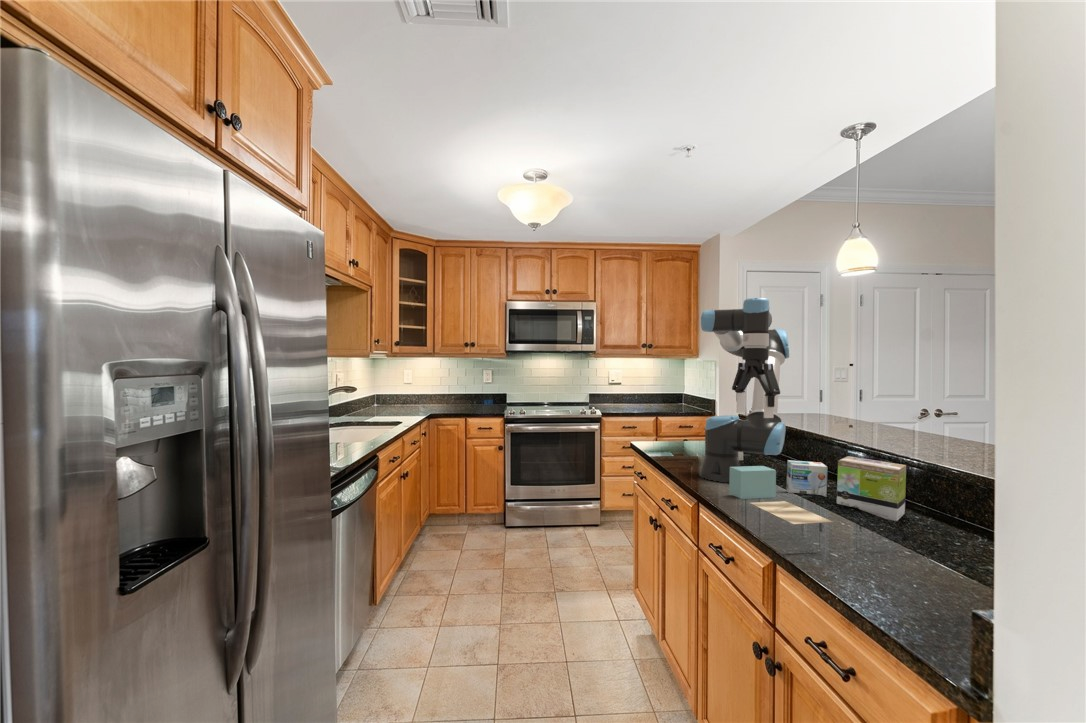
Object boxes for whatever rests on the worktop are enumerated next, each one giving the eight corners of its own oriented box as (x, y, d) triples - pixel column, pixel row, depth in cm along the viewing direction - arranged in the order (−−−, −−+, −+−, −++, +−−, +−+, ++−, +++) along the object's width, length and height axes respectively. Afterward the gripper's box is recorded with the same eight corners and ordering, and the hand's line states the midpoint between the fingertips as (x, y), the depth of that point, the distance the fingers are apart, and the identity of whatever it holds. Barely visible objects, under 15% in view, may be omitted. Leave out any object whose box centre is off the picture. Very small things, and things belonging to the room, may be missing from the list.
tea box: (835, 508, 138) (836, 459, 138) (845, 502, 144) (846, 455, 144) (898, 522, 126) (899, 468, 126) (906, 514, 133) (906, 463, 133)
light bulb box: (790, 497, 149) (791, 463, 149) (785, 491, 155) (786, 459, 155) (827, 500, 146) (828, 466, 146) (821, 494, 152) (821, 462, 152)
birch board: (749, 507, 137) (749, 502, 137) (785, 506, 139) (785, 501, 139) (793, 529, 119) (793, 524, 119) (833, 527, 121) (833, 521, 121)
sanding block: (729, 498, 147) (729, 466, 147) (762, 496, 149) (763, 465, 149) (740, 503, 141) (741, 471, 141) (775, 502, 143) (776, 470, 143)
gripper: (721, 348, 156) (720, 410, 156) (771, 346, 132) (770, 420, 132) (741, 348, 158) (740, 410, 158) (794, 346, 133) (793, 420, 133)
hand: (754, 415), depth 145 cm, fingers open, 13 cm apart
